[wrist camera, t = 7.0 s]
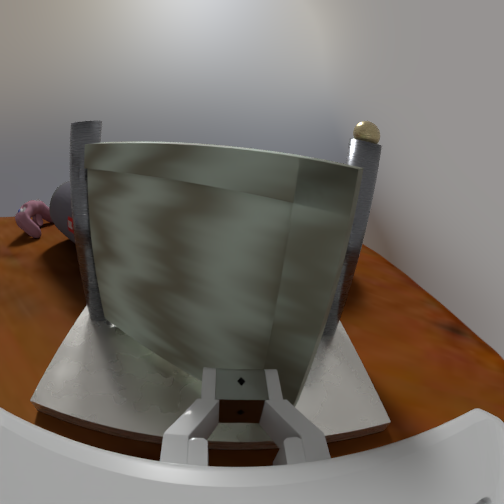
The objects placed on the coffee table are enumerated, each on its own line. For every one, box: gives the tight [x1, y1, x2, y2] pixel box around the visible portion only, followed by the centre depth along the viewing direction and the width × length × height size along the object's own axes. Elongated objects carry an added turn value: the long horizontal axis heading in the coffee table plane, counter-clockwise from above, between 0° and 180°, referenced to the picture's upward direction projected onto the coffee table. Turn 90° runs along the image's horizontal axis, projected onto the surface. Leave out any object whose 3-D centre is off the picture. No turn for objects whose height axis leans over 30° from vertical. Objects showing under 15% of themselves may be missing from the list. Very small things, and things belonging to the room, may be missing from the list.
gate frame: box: [30, 121, 391, 450], centre depth 16 cm, size 24×16×19 cm, turn 94°
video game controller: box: [15, 199, 53, 238], centre depth 38 cm, size 10×5×7 cm, turn 16°
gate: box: [84, 142, 363, 407], centre depth 15 cm, size 16×2×14 cm, turn 62°
